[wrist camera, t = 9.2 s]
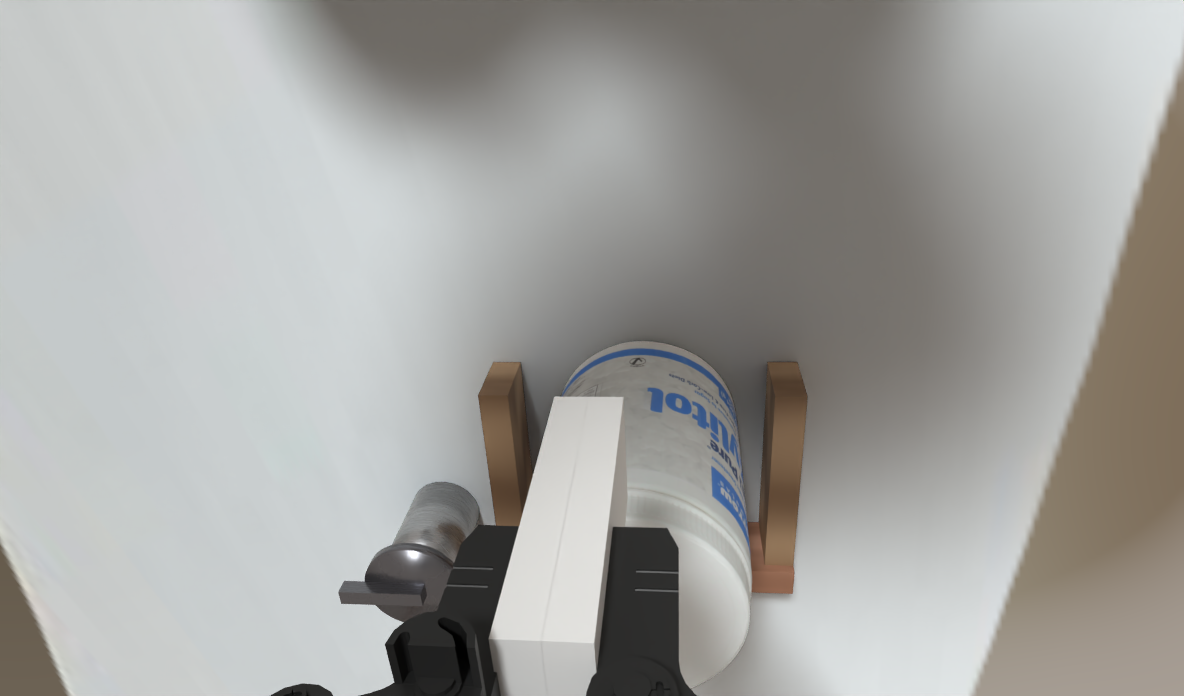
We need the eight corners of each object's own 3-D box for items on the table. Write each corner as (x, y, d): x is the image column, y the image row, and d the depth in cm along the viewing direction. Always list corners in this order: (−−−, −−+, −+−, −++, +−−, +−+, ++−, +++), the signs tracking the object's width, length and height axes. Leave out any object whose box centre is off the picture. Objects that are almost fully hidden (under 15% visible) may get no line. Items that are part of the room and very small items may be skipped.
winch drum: (379, 472, 46) (329, 559, 39) (483, 474, 45) (450, 563, 38) (394, 541, 48) (349, 633, 41) (493, 543, 47) (463, 638, 41)
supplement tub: (769, 386, 40) (814, 592, 27) (676, 508, 45) (676, 736, 32) (608, 301, 39) (574, 474, 26) (528, 434, 43) (464, 641, 30)
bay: (493, 362, 41) (475, 400, 38) (797, 362, 40) (809, 402, 36) (514, 536, 47) (501, 584, 43) (783, 543, 45) (792, 593, 41)
